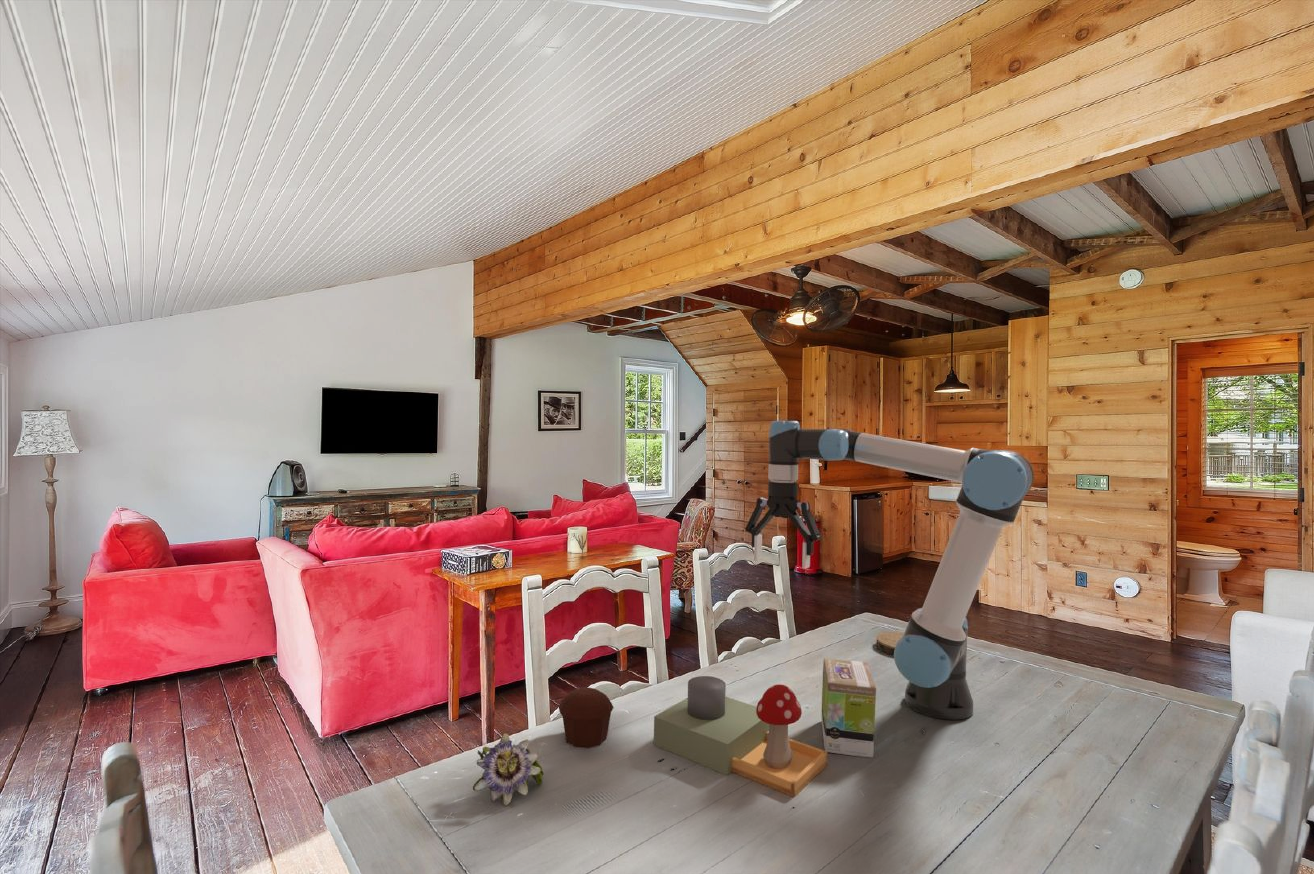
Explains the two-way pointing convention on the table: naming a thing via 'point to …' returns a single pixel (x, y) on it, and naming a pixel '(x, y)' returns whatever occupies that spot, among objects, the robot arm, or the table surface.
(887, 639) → the wood slice
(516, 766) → the passion flower
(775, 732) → the decorative mushroom
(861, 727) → the tea box
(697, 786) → the table surface
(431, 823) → the table surface
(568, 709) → the muffin
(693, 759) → the green drawer box
